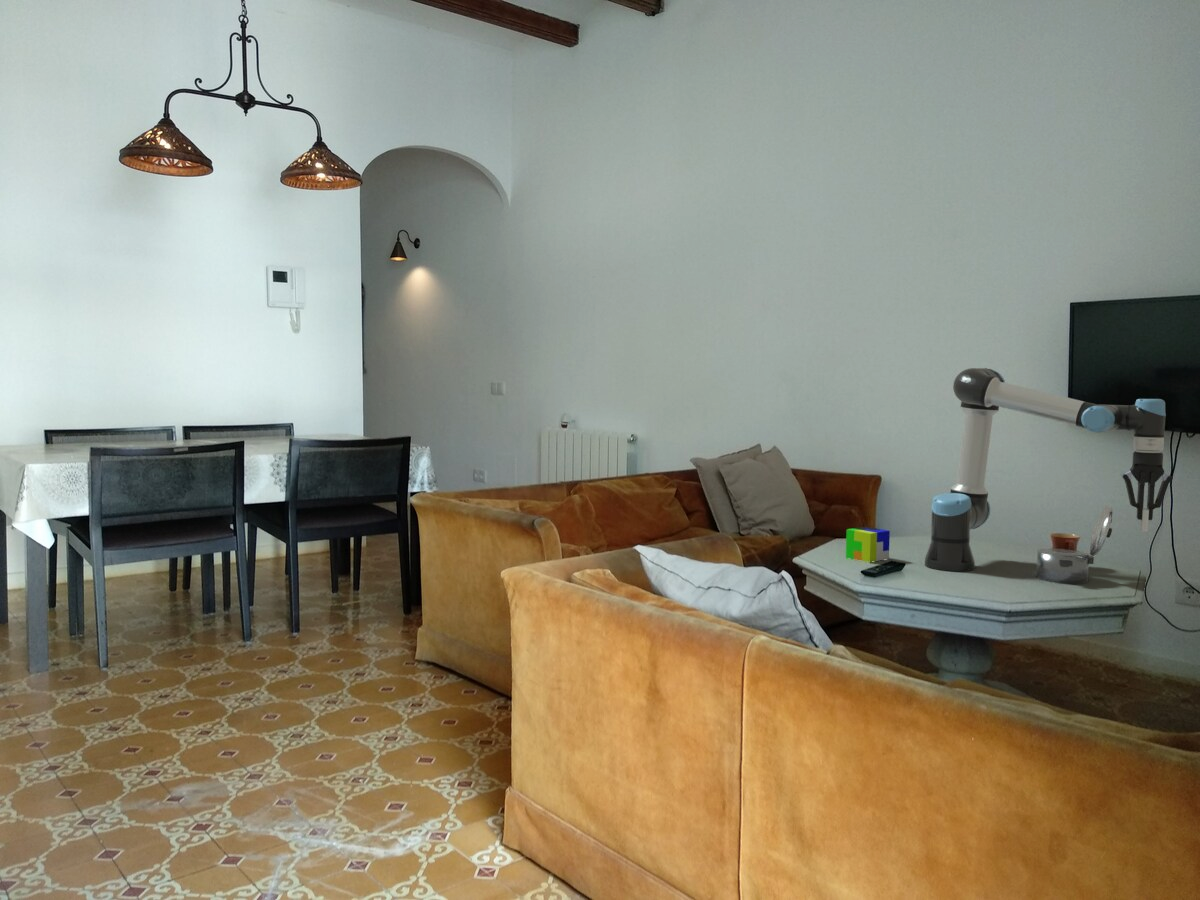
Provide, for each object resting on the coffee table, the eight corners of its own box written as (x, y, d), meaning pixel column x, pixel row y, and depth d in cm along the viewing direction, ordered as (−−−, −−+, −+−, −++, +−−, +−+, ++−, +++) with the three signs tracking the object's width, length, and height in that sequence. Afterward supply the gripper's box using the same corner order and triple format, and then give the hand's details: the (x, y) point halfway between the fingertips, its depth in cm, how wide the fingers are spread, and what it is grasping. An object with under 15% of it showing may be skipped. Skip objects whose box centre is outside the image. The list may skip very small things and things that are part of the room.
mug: (1045, 563, 289) (1046, 532, 288) (1073, 564, 287) (1075, 533, 286) (1056, 570, 277) (1057, 538, 276) (1086, 571, 275) (1087, 539, 274)
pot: (1039, 583, 259) (1040, 557, 259) (1033, 570, 277) (1034, 545, 276) (1096, 587, 254) (1097, 560, 253) (1087, 574, 271) (1088, 549, 270)
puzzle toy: (888, 559, 294) (889, 530, 293) (869, 563, 289) (870, 533, 288) (864, 554, 302) (865, 526, 302) (845, 558, 297) (846, 529, 296)
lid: (1112, 509, 252) (1123, 513, 251) (1103, 503, 266) (1114, 506, 265) (1094, 559, 255) (1105, 562, 254) (1086, 550, 269) (1097, 553, 268)
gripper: (1124, 451, 253) (1120, 531, 255) (1177, 453, 248) (1172, 534, 250) (1120, 449, 260) (1116, 527, 262) (1171, 451, 255) (1166, 530, 257)
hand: (1143, 530), depth 256 cm, fingers closed
